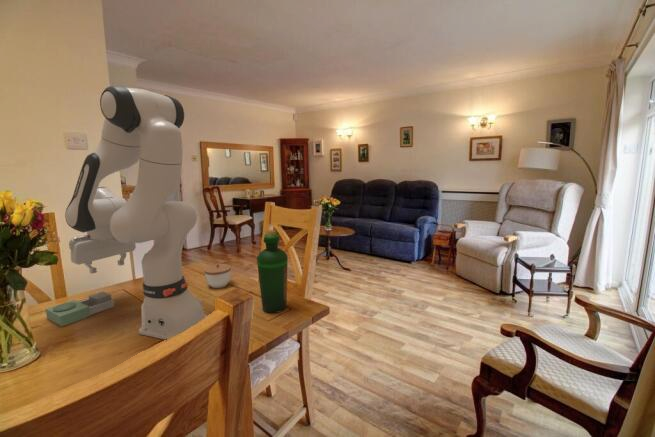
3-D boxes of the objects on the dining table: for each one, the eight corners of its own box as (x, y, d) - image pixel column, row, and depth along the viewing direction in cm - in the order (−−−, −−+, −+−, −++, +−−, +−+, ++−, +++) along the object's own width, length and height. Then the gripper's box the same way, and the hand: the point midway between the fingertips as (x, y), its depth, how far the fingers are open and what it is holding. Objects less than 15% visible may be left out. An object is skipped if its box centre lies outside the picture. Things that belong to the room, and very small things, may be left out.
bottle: (295, 305, 113) (293, 230, 108) (275, 318, 104) (271, 236, 99) (273, 298, 119) (270, 226, 114) (252, 310, 110) (248, 232, 105)
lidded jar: (216, 279, 139) (215, 259, 137) (237, 282, 136) (236, 261, 134) (199, 288, 129) (198, 267, 127) (221, 291, 126) (220, 269, 124)
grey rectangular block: (112, 306, 114) (110, 294, 114) (98, 311, 111) (96, 299, 110) (104, 302, 117) (102, 291, 117) (90, 307, 114) (88, 295, 113)
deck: (115, 306, 114) (114, 296, 113) (62, 326, 100) (59, 314, 99) (100, 300, 119) (98, 290, 118) (47, 318, 105) (45, 307, 105)
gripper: (72, 239, 102) (79, 279, 105) (135, 227, 120) (140, 262, 123) (63, 237, 105) (70, 276, 108) (126, 226, 123) (130, 259, 126)
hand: (107, 268), depth 115 cm, fingers open, 8 cm apart
